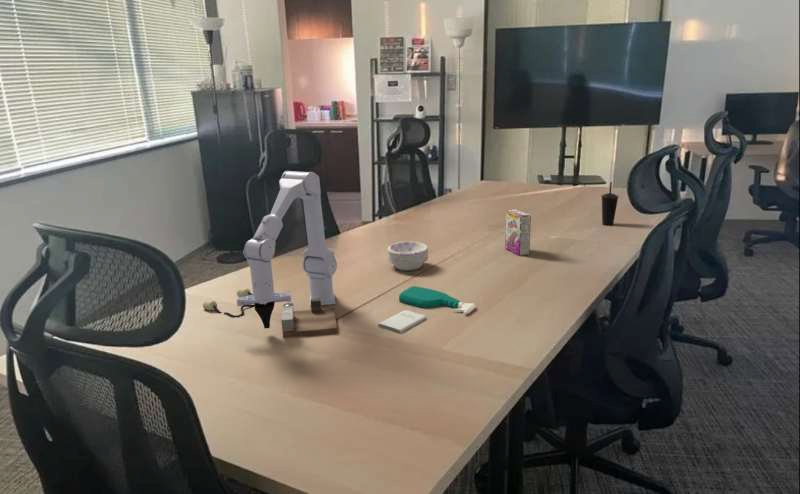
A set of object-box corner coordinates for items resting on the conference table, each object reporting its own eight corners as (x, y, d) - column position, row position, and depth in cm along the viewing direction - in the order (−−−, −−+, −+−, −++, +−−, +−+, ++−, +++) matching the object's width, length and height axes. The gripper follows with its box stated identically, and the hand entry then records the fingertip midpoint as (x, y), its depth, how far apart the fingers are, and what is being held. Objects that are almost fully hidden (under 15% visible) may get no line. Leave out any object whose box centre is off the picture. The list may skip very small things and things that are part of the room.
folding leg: (284, 314, 168) (283, 303, 167) (294, 313, 168) (293, 302, 167) (282, 331, 156) (281, 320, 155) (293, 330, 156) (292, 319, 155)
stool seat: (285, 316, 171) (283, 301, 169) (334, 312, 173) (333, 297, 171) (283, 337, 157) (281, 321, 155) (337, 332, 159) (335, 316, 157)
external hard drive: (378, 328, 162) (404, 314, 172) (400, 335, 157) (426, 320, 167) (378, 323, 162) (404, 309, 171) (400, 329, 157) (426, 315, 166)
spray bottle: (414, 292, 188) (480, 307, 175) (395, 303, 180) (464, 320, 166) (414, 284, 187) (480, 299, 174) (395, 294, 179) (464, 311, 165)
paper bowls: (405, 276, 203) (405, 255, 201) (380, 266, 214) (379, 246, 212) (436, 266, 212) (436, 246, 210) (410, 258, 223) (410, 239, 221)
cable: (274, 303, 182) (273, 293, 181) (233, 321, 170) (232, 311, 169) (243, 294, 191) (241, 284, 190) (202, 310, 179) (200, 300, 178)
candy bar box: (504, 249, 231) (505, 210, 227) (514, 247, 233) (515, 208, 228) (519, 256, 221) (520, 215, 217) (530, 254, 223) (531, 214, 218)
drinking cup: (618, 223, 265) (621, 181, 260) (614, 227, 259) (617, 184, 254) (601, 221, 269) (604, 180, 264) (597, 225, 263) (600, 183, 258)
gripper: (233, 288, 149) (239, 335, 153) (288, 284, 151) (292, 330, 155) (236, 279, 156) (242, 324, 160) (289, 275, 158) (293, 320, 162)
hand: (267, 326), depth 158 cm, fingers closed
